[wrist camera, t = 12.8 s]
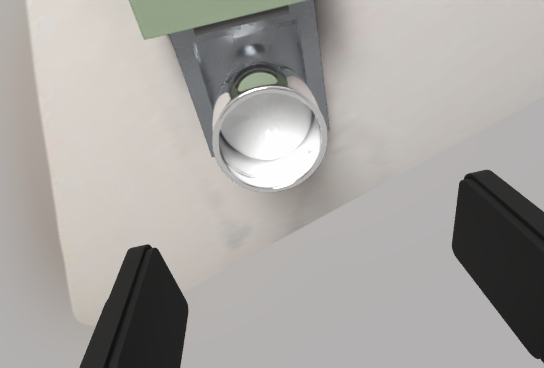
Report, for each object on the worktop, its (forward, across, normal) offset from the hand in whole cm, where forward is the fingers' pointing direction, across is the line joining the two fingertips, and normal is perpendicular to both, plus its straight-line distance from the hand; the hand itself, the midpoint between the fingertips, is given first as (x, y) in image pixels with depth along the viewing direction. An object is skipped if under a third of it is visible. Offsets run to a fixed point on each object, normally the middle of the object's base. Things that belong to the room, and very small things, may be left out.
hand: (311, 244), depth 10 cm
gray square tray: (+25, +1, +1) cm, 25 cm away
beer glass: (+25, +1, +1) cm, 25 cm away
